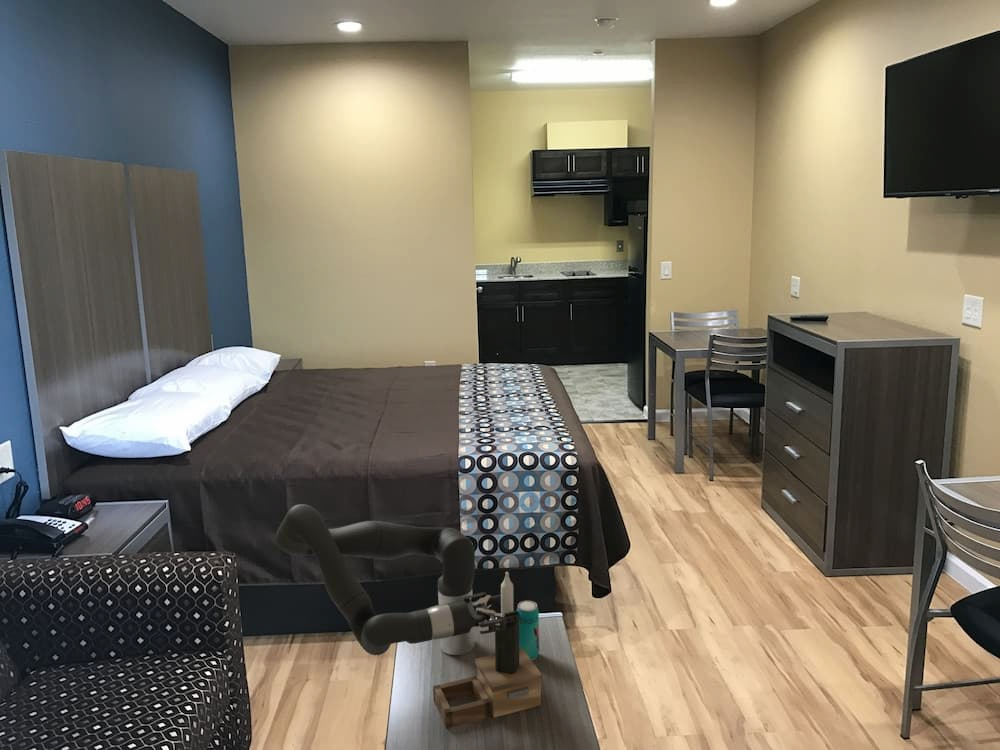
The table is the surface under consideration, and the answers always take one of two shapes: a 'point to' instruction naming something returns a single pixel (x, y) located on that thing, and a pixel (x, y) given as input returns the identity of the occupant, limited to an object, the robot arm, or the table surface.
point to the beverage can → (529, 628)
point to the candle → (507, 634)
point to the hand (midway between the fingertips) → (512, 606)
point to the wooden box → (490, 692)
